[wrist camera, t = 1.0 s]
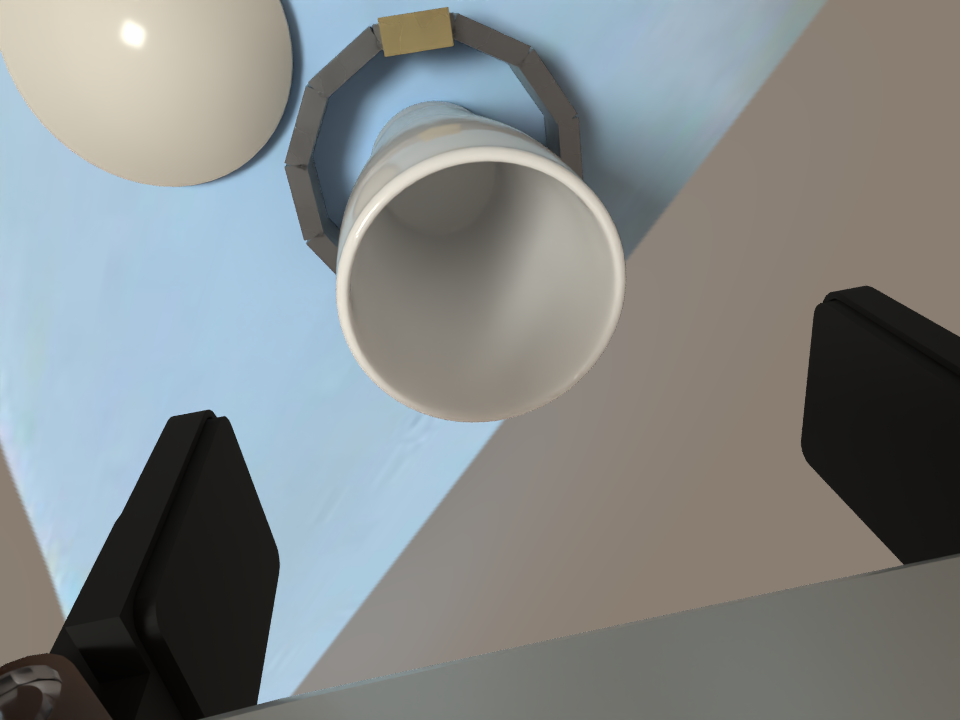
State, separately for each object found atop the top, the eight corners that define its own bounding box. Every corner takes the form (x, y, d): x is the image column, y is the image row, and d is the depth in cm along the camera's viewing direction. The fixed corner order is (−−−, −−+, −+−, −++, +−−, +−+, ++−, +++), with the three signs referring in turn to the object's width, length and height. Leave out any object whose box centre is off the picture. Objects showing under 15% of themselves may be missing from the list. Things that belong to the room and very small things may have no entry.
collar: (260, 35, 26) (246, 39, 23) (553, -11, 26) (575, -13, 23) (334, 316, 31) (329, 348, 28) (575, 273, 32) (595, 299, 29)
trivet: (-53, -94, 23) (-63, -96, 22) (249, -138, 23) (246, -141, 23) (72, 202, 27) (66, 206, 27) (321, 160, 28) (320, 163, 27)
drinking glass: (319, 133, 27) (266, 247, 14) (467, 46, 27) (557, 78, 13) (406, 272, 31) (429, 472, 17) (540, 197, 30) (673, 345, 17)
